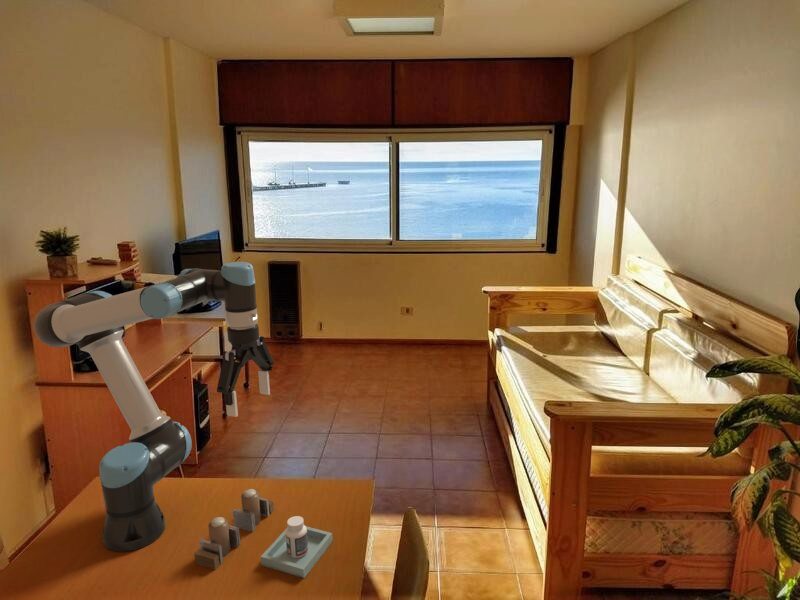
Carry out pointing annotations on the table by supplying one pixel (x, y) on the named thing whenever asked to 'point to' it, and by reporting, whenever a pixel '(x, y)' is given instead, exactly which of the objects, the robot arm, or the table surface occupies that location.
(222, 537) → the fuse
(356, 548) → the table surface
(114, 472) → the robot arm
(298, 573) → the tray
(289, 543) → the pill bottle
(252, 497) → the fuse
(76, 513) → the table surface
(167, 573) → the table surface
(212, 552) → the clip rail
